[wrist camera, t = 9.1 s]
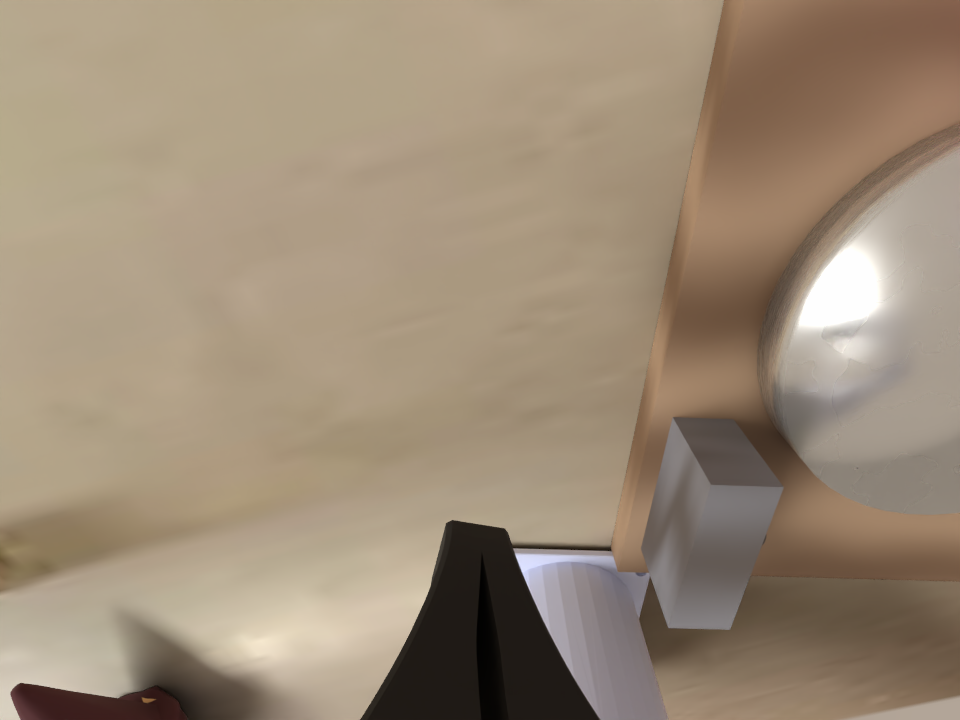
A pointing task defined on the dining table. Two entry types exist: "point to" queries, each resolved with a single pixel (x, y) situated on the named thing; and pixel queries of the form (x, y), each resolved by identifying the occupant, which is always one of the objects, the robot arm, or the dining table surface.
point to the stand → (747, 291)
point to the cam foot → (875, 337)
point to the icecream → (93, 705)
